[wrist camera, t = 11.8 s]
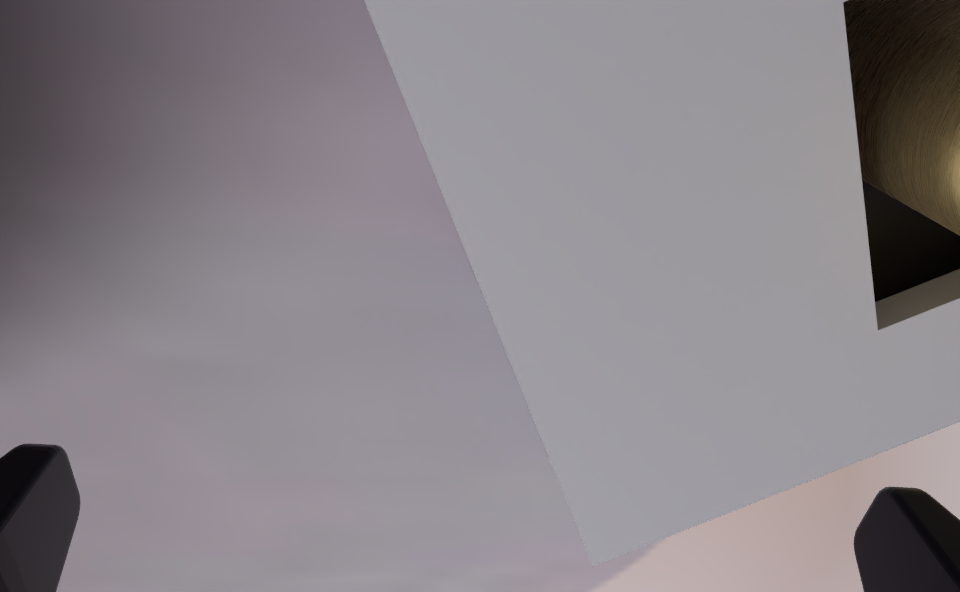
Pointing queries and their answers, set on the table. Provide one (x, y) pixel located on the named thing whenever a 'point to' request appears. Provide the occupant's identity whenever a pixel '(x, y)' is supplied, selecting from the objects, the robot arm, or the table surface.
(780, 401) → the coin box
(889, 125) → the brass cylinder
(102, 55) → the table surface
